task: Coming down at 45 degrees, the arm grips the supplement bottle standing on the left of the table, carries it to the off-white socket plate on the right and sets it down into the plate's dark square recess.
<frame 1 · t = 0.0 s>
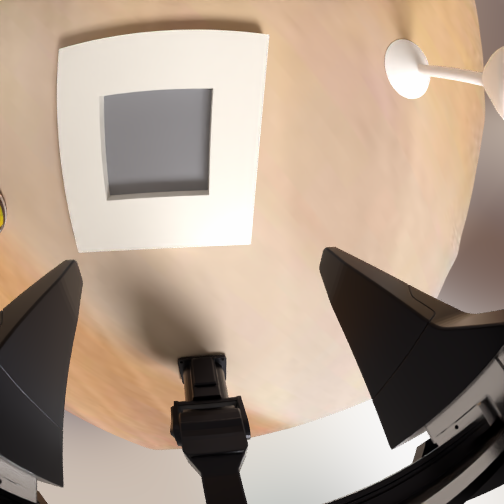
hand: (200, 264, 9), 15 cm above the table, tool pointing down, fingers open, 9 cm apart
champagne flute: (408, 68, 20), on the table
socket plate: (156, 141, 20), on the table
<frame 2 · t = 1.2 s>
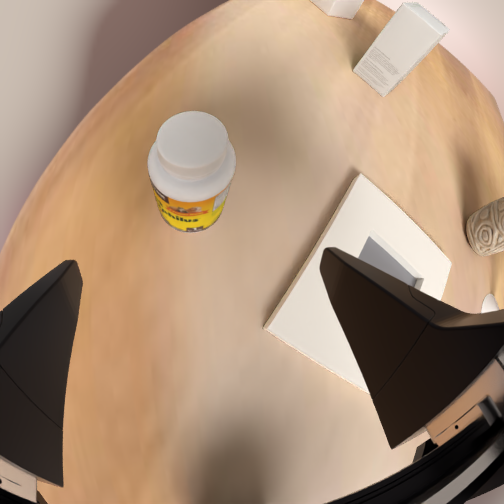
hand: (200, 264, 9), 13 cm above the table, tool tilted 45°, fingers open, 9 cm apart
supplement bottle: (191, 205, 24), on the table
carving: (471, 235, 31), on the table
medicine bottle: (330, 10, 38), on the table
skincare box: (376, 79, 34), on the table
champagne flute: (489, 315, 29), on the table
socket plate: (376, 291, 25), on the table
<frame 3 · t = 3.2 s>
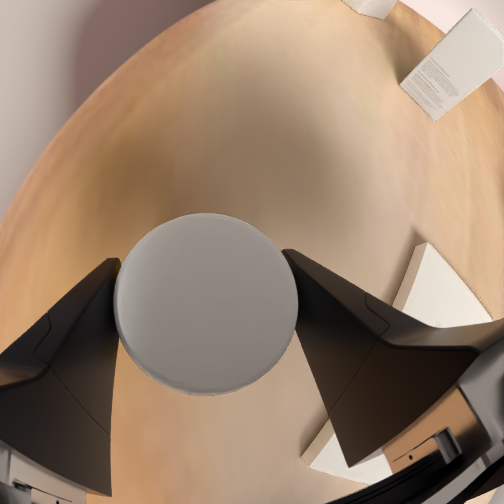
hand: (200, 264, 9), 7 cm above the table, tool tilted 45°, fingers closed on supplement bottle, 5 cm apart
supplement bottle: (199, 308, 16), on the table, touching gripper
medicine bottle: (358, 7, 30), on the table
skincare box: (423, 96, 26), on the table
socket plate: (428, 388, 17), on the table
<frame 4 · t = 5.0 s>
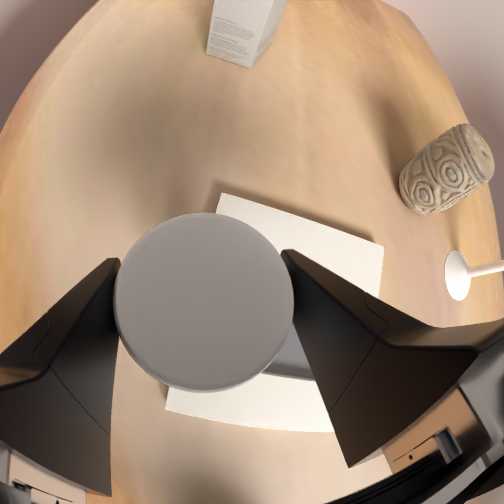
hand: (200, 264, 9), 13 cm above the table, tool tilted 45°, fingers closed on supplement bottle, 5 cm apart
supplement bottle: (199, 307, 16), point 6 cm above the table, touching gripper
carving: (410, 192, 29), on the table
skincare box: (240, 49, 29), on the table
champagne flute: (457, 275, 29), on the table
socket plate: (284, 324, 23), on the table
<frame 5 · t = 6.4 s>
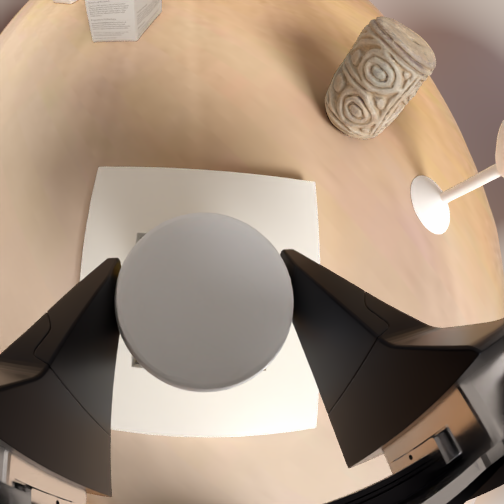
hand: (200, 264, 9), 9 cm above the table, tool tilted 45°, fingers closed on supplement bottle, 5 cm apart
supplement bottle: (201, 306, 16), point 2 cm above the table, touching gripper
carving: (345, 118, 25), on the table
skincare box: (129, 27, 22), on the table
champagne flute: (430, 204, 25), on the table
socket plate: (198, 304, 18), on the table
when the fingers open (8 cm above the table, at t = 7.1 s): supplement bottle drops 1 cm, resting on socket plate.
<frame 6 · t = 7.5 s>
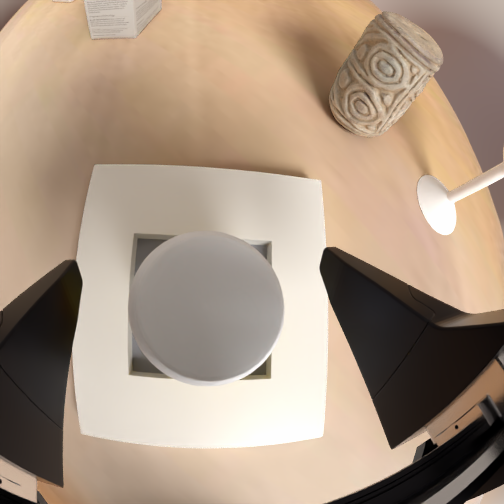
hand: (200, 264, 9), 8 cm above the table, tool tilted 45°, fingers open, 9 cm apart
supplement bottle: (201, 310, 17), resting on socket plate
carving: (349, 116, 24), on the table
skincare box: (128, 24, 22), on the table
champagne flute: (436, 204, 24), on the table
socket plate: (199, 308, 17), on the table
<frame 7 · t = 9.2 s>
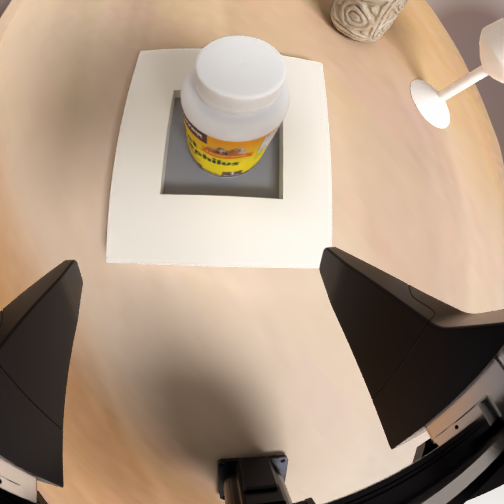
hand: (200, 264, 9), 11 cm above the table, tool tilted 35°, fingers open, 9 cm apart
supplement bottle: (225, 147, 20), resting on socket plate
carving: (349, 29, 22), on the table
champagne flute: (430, 103, 24), on the table
socket plate: (223, 146, 20), on the table
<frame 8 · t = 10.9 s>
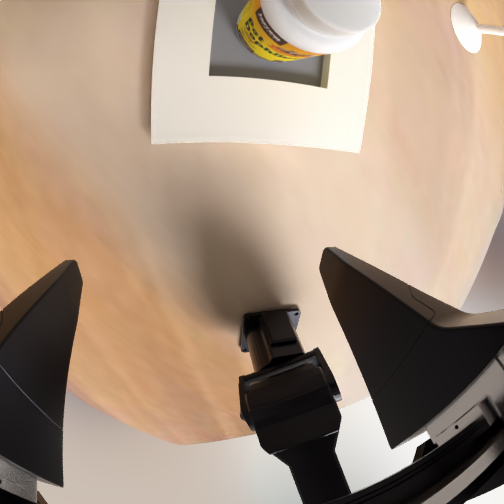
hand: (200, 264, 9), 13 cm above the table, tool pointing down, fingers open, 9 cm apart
supplement bottle: (272, 31, 15), resting on socket plate
champagne flute: (466, 27, 15), on the table
socket plate: (270, 30, 15), on the table
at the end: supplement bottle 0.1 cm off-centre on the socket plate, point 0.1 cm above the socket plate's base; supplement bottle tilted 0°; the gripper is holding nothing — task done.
